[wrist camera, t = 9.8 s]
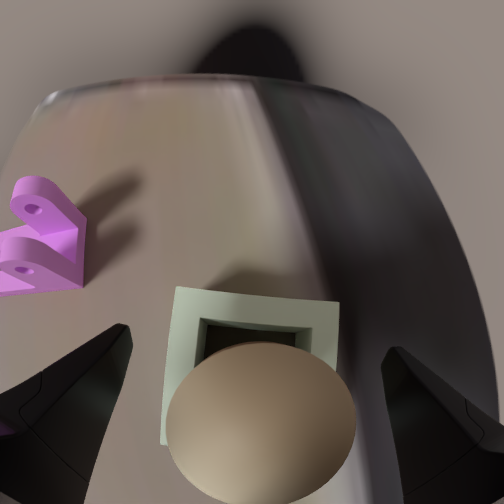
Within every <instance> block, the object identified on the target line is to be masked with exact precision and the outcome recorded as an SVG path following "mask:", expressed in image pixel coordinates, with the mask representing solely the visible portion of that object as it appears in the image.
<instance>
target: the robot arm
mask: <svg viewBox="0 0 504 504" xmlns="http://www.w3.org/2000/svg"><path fill="white" fill-rule="evenodd" d="M132 349H133V342H132V337H131V332H130V328H129V326H128V325H125V324H120V323H117V324H115V325H113V326H112V327H110V328H109V329H107V330H105V331H104V332H102V333H101V334H99V335H97V336H96V337H94V338H93V339H91V340H89V341H88V342H86V343H85V344H83V345H81V346H80V347H78V348H77V349H75V350H74V351H72V352H70V353H69V354H67V355H66V356H64V357H62V358H61V359H59V360H58V361H56V362H55V363H53V364H51V365H50V366H48V367H47V368H45V369H44V370H43V371H40V372H39V373H37V374H36V375H34V376H32V377H31V378H29V379H28V380H26V381H24V382H23V383H21V384H19V385H17V386H15V387H13V388H11V389H9V390H7V391H5V392H3V393H1V394H0V504H84V500H85V497H86V493H87V490H88V486H89V482H90V479H91V475H92V472H93V469H94V465H95V462H96V459H97V456H98V453H99V450H100V447H101V444H102V441H103V438H104V435H105V432H106V429H107V426H108V423H109V421H110V418H111V415H112V412H113V410H114V407H115V404H116V402H117V399H118V396H119V394H120V391H121V388H122V386H123V382H124V378H125V375H126V371H127V367H128V363H129V360H130V356H131V353H132ZM381 372H382V379H383V386H384V393H385V400H386V406H387V411H388V415H389V419H390V424H391V428H392V433H393V438H394V443H395V448H396V454H397V459H398V465H399V471H400V478H401V484H402V492H403V496H404V497H403V501H404V504H504V426H503V425H502V424H500V423H499V422H497V421H496V420H494V419H493V418H491V417H490V416H489V415H487V414H486V413H484V412H483V411H481V410H480V409H479V408H478V407H476V406H475V405H474V404H472V403H471V402H470V401H469V400H467V399H466V398H465V397H464V396H462V395H461V394H460V393H459V392H458V391H456V390H455V389H454V388H453V387H451V386H450V385H449V384H448V383H446V382H445V381H444V380H443V379H441V378H440V377H439V376H438V375H436V374H435V373H434V372H433V371H431V370H430V369H429V368H427V367H426V366H425V365H424V364H422V363H421V362H420V361H419V360H417V359H416V358H415V357H414V356H412V355H411V354H410V353H408V352H407V351H406V350H405V349H403V348H402V347H391V348H390V349H389V350H388V352H387V354H386V356H385V358H384V359H383V361H382V364H381Z"/></svg>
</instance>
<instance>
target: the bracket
mask: <svg viewBox="0 0 504 504" xmlns="http://www.w3.org/2000/svg"><path fill="white" fill-rule="evenodd" d="M10 208H11V210H12V212H13V213H14V214H15V215H16V216H18V217H19V218H20V219H21V220H23V221H24V222H25V223H26V224H27V225H24V226H20V227H17V228H13V229H10V230H6V231H3V232H0V269H1V270H2V271H0V296H9V295H20V294H30V293H39V292H49V291H58V290H68V289H77V288H83V274H84V250H85V235H86V224H87V218H86V217H85V216H84V215H83V214H82V213H81V212H80V211H79V210H78V209H77V208H76V206H75V205H74V204H73V203H72V202H71V201H70V200H69V199H68V198H67V197H66V195H65V194H64V193H63V192H62V191H61V190H60V189H59V188H58V186H57V185H56V184H55V183H53V182H52V181H50V180H49V179H46V178H44V177H40V176H26V177H23V178H21V179H19V180H18V181H17V182H16V184H15V187H14V191H13V195H12V198H11V202H10Z"/></svg>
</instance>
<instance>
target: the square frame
mask: <svg viewBox="0 0 504 504" xmlns="http://www.w3.org/2000/svg"><path fill="white" fill-rule="evenodd" d="M207 325H215V326H224V327H233V328H242V329H253V330H264V331H276V332H291V333H296V338H295V348H298V349H301V350H304V351H306V352H308V353H311V354H313V355H314V356H316V357H318V358H320V359H321V360H323V361H324V362H325V363H327V364H328V365H329V366H330V367H332V368H333V369H334V371H335V372H336V364H337V349H338V330H339V302H330V301H316V300H302V299H290V298H279V297H268V296H257V295H247V294H238V293H228V292H220V291H211V290H202V289H194V288H186V287H179V286H176V291H175V297H174V304H173V311H172V318H171V326H170V333H169V341H168V350H167V359H166V368H165V379H164V390H163V403H162V417H161V436H160V444H162V445H167V446H168V444H167V438H166V417H167V411H168V407H169V404H170V401H171V399H172V397H173V395H174V393H175V391H176V389H177V388H178V386H179V385H180V383H181V382H182V380H183V379H184V378H185V377H186V376H187V375H188V374H189V373H190V372H191V371H192V370H193V369H194V368H195V367H196V366H197V365H199V364H200V363H201V362H202V361H203V360H204V352H205V343H206V334H207Z"/></svg>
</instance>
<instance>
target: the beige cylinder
mask: <svg viewBox="0 0 504 504" xmlns="http://www.w3.org/2000/svg"><path fill="white" fill-rule="evenodd" d="M355 430H356V413H355V407H354V403H353V400H352V397H351V394H350V392H349V390H348V388H347V386H346V384H345V383H344V381H343V380H342V379H341V377H340V376H339V375H338V374H337V373H336V372H335V371H334V369H333V368H332V367H330V366H329V365H328V364H327V363H325V362H324V361H323V360H321V359H320V358H318V357H316V356H314V355H313V354H311V353H308V352H306V351H304V350H301V349H298V348H295V347H291V346H288V345H284V344H281V343H275V342H265V341H255V342H245V343H240V344H236V345H233V346H229V347H226V348H224V349H222V350H220V351H217V352H215V353H214V354H212V355H211V356H209V357H207V358H206V359H205V360H203V361H202V362H201V363H200V364H199V365H197V366H196V367H195V368H194V369H193V370H192V371H191V372H190V373H189V374H188V375H187V376H186V377H185V378H184V379H183V380H182V382H181V383H180V385H179V386H178V388H177V389H176V391H175V393H174V395H173V397H172V399H171V401H170V404H169V407H168V411H167V417H166V438H167V444H168V447H169V450H170V453H171V456H172V458H173V460H174V462H175V464H176V465H177V467H178V468H179V470H180V471H181V473H182V474H183V475H184V476H185V477H186V478H187V479H188V480H189V481H190V482H191V483H192V484H193V485H194V486H195V487H197V488H198V489H199V490H201V491H202V492H204V493H206V494H207V495H209V496H211V497H213V498H215V499H217V500H220V501H223V502H226V503H229V504H288V503H291V502H294V501H297V500H299V499H301V498H303V497H306V496H308V495H310V494H311V493H313V492H315V491H316V490H318V489H319V488H321V487H322V486H323V485H324V484H326V483H327V482H328V481H329V480H330V479H331V478H332V477H333V476H334V475H335V474H336V473H337V471H338V470H339V469H340V468H341V466H342V465H343V463H344V462H345V460H346V458H347V456H348V454H349V452H350V450H351V447H352V444H353V441H354V437H355Z"/></svg>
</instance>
